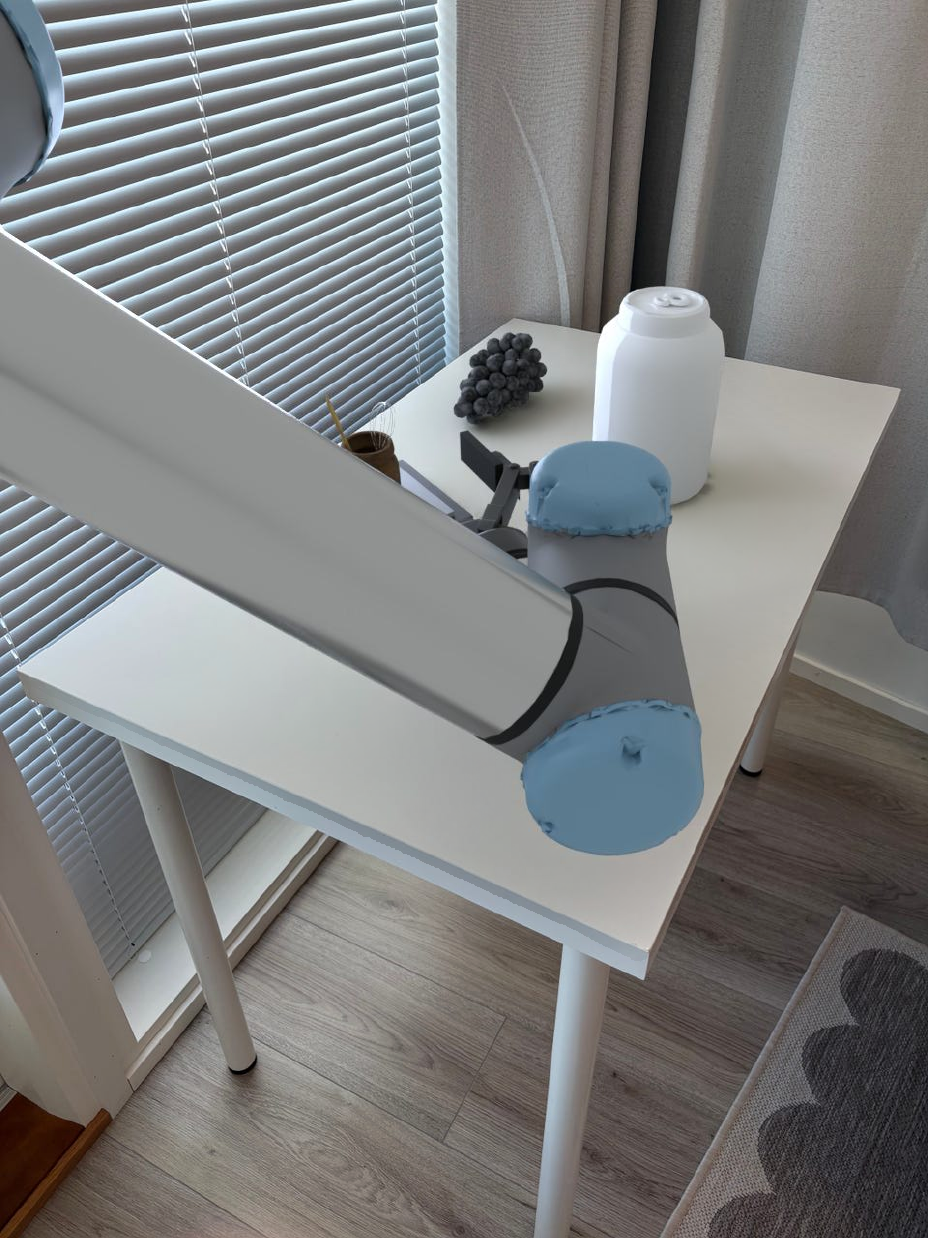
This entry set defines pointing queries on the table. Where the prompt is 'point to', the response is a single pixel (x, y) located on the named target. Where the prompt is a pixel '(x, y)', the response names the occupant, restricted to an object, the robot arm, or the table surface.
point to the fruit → (500, 377)
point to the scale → (430, 492)
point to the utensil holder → (371, 446)
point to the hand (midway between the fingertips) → (392, 464)
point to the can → (661, 382)
